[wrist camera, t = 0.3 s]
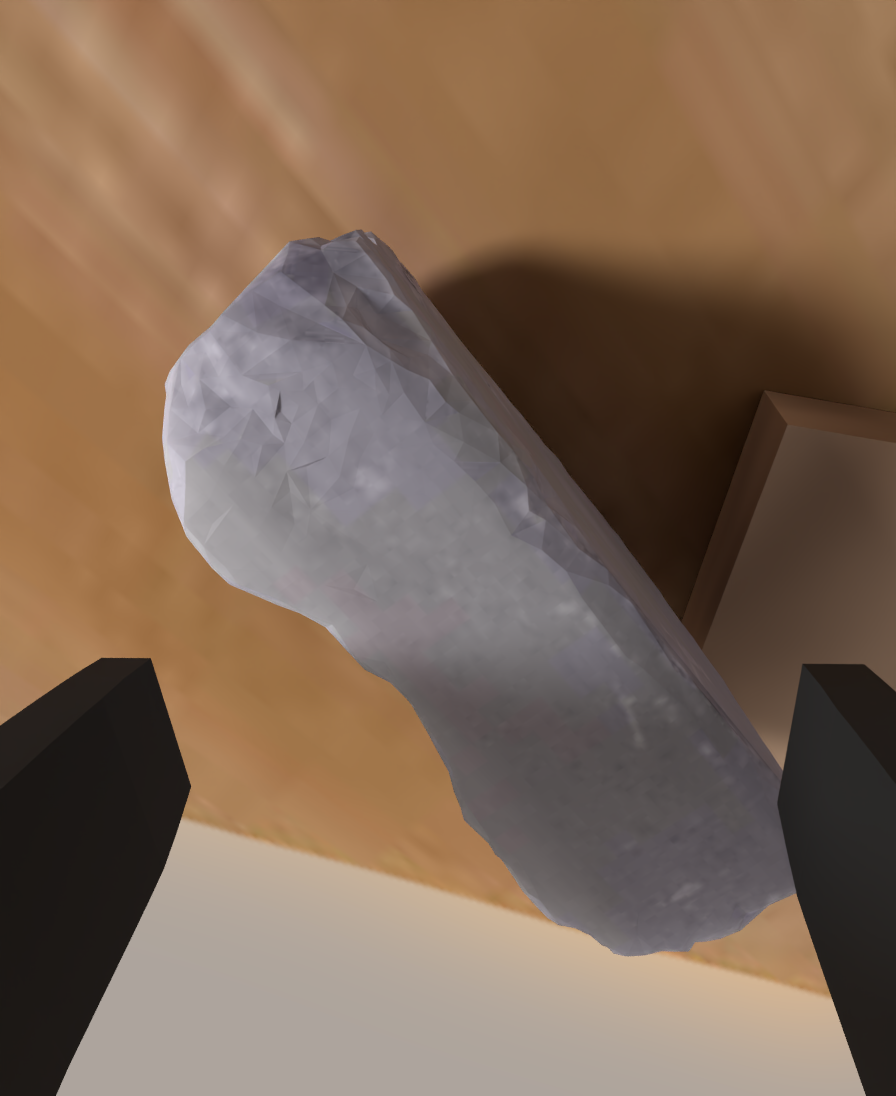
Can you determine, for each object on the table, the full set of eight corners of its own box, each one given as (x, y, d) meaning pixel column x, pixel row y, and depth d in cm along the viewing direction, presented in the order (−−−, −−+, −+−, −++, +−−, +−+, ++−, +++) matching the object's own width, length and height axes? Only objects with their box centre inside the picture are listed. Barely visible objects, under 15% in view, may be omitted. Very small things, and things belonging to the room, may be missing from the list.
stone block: (736, 573, 20) (884, 953, 11) (567, 656, 22) (583, 1040, 13) (449, 130, 16) (333, 194, 7) (268, 278, 17) (-1, 475, 9)
